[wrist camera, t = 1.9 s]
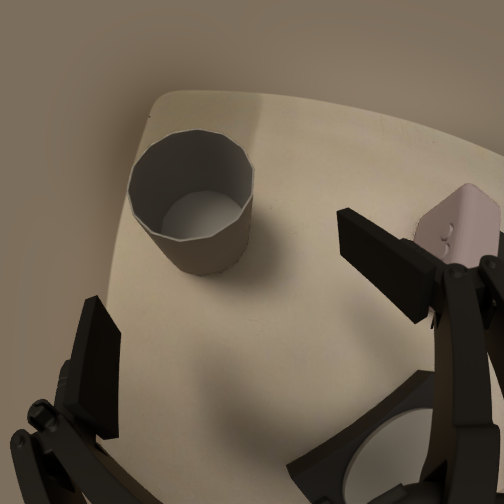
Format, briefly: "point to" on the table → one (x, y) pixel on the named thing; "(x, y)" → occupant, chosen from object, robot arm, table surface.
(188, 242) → the cup
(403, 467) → the scale
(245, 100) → the table surface
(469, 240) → the electronic device
